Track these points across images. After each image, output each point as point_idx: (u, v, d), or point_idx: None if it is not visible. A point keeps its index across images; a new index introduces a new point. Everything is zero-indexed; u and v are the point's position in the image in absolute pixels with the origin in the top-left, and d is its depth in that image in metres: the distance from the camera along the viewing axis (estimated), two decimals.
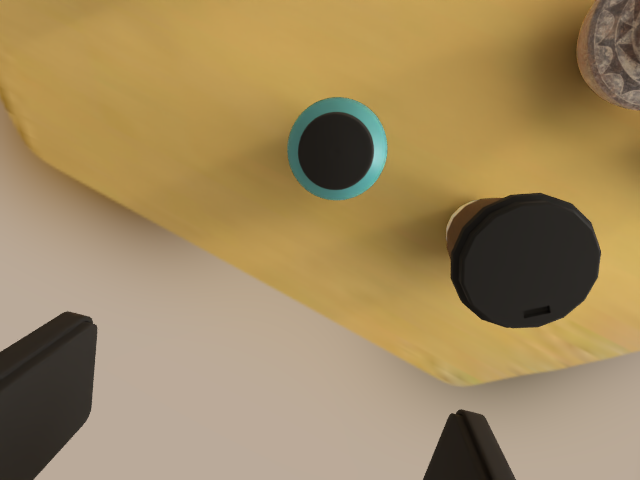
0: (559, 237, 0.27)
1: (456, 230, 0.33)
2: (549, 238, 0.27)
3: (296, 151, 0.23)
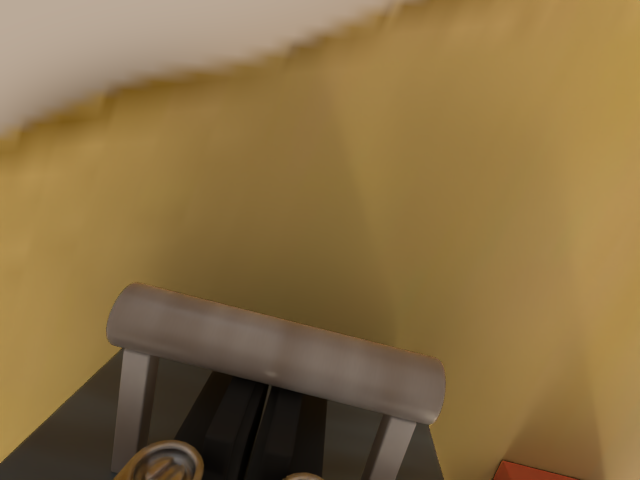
0: None
1: None
2: None
3: None
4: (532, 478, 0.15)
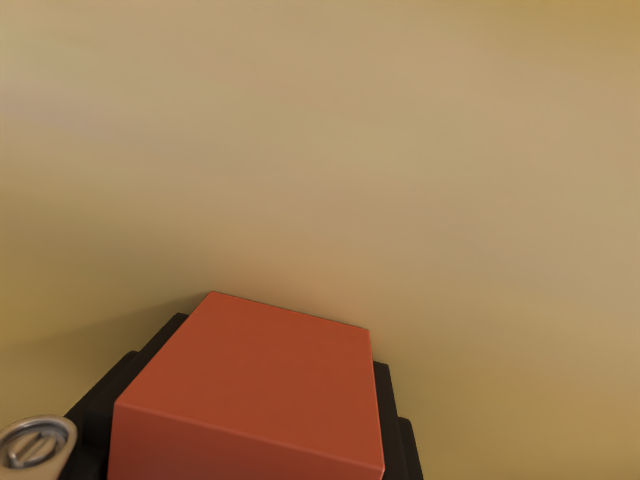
0: None
1: None
2: None
3: None
4: None
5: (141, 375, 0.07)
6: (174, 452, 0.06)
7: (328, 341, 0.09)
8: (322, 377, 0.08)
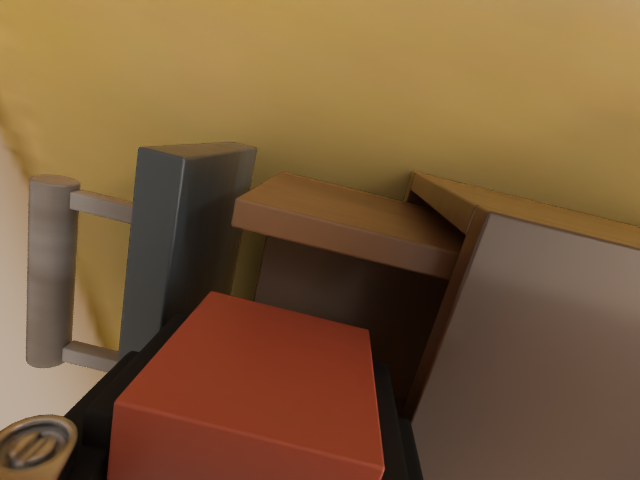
0: None
1: None
2: None
3: None
4: None
5: (141, 375, 0.07)
6: (174, 452, 0.06)
7: (328, 341, 0.09)
8: (322, 377, 0.08)
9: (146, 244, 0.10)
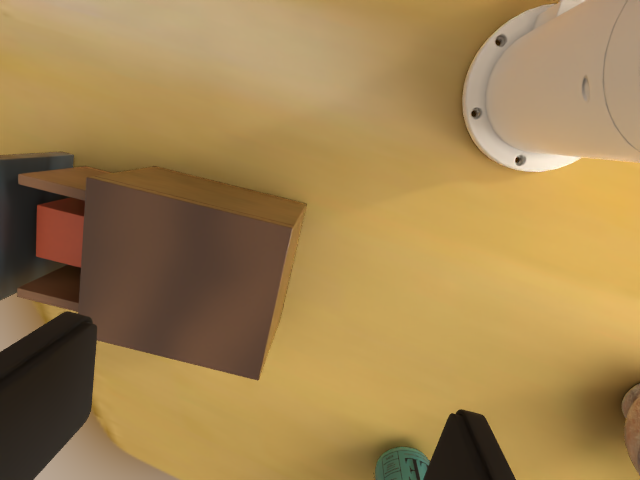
0: None
1: None
2: None
3: None
4: None
5: (44, 203, 0.30)
6: (49, 216, 0.30)
7: None
8: None
9: None
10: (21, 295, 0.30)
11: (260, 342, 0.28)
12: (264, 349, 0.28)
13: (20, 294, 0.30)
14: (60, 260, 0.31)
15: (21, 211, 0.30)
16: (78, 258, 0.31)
